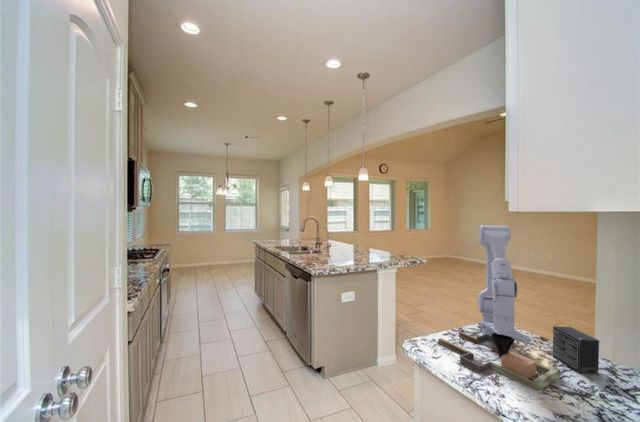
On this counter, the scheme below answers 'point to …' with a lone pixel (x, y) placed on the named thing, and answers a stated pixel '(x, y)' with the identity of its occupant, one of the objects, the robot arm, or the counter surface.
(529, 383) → the lane
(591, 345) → the small box
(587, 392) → the counter surface
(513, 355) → the block
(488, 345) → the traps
